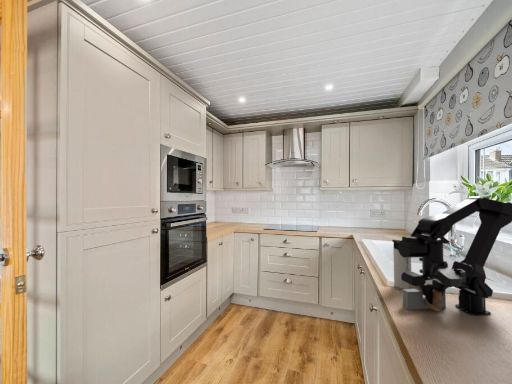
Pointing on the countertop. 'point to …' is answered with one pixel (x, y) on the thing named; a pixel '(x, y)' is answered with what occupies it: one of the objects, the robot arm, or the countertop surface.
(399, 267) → the travel mug
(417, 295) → the base plate
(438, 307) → the cross plate
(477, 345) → the countertop surface
